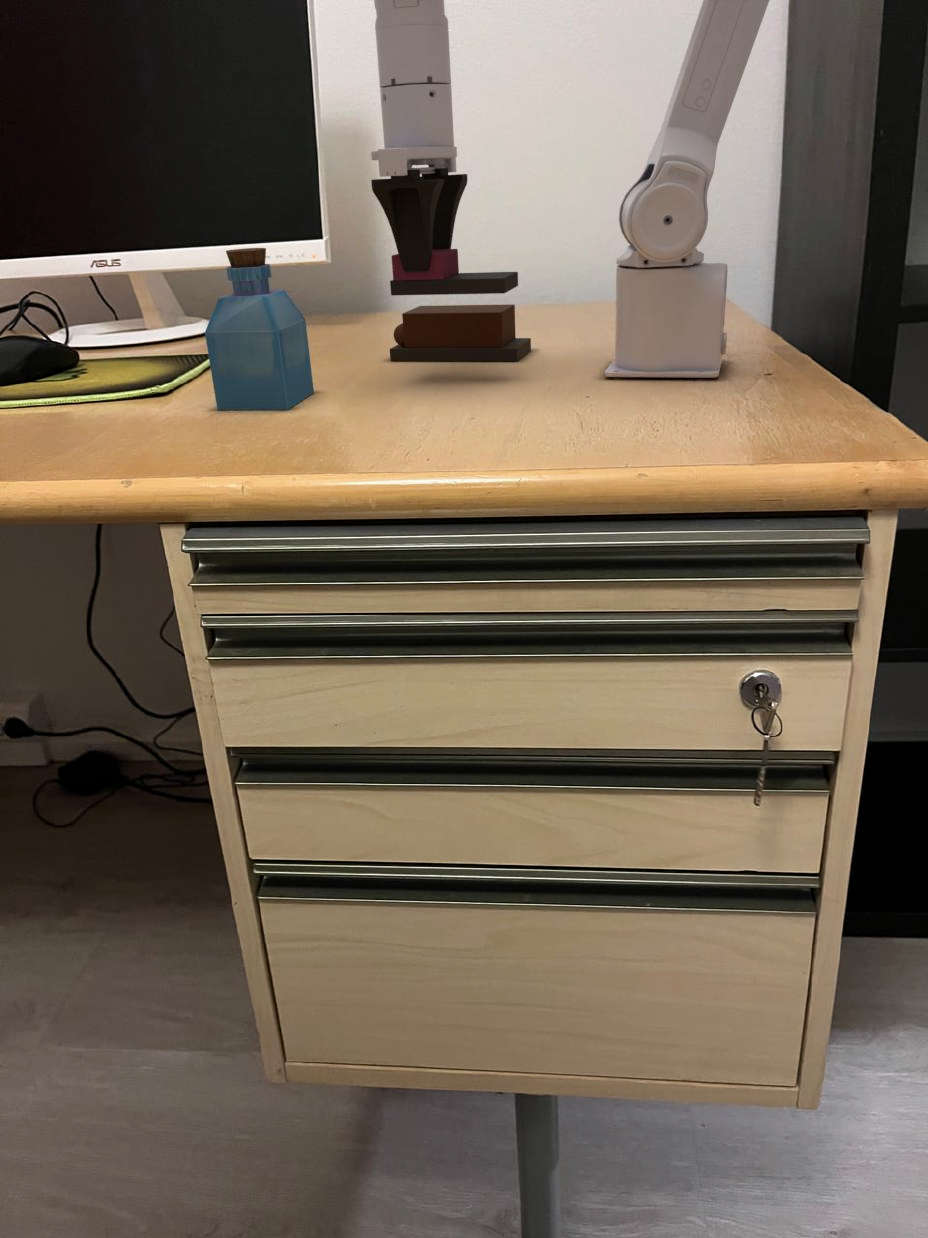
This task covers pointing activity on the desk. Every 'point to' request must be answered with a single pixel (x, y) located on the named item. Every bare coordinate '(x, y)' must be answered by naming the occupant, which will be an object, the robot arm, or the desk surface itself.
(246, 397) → the perfume bottle
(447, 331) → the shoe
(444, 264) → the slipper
